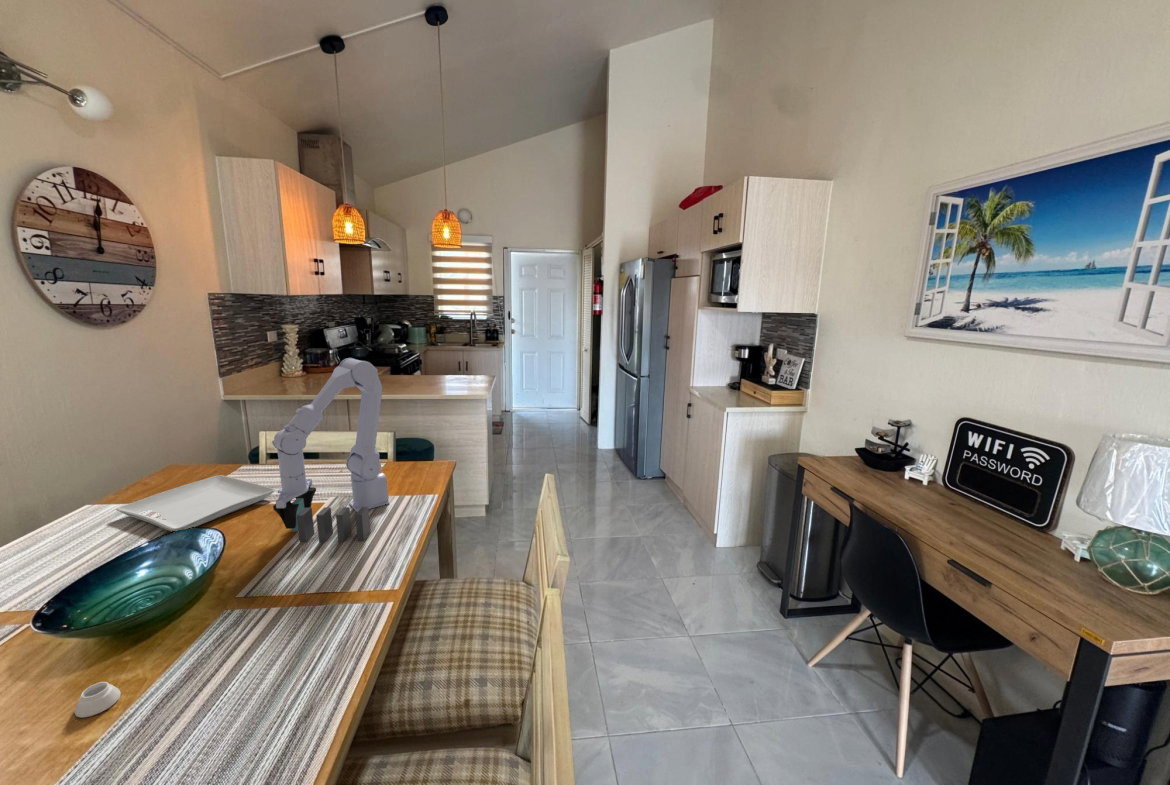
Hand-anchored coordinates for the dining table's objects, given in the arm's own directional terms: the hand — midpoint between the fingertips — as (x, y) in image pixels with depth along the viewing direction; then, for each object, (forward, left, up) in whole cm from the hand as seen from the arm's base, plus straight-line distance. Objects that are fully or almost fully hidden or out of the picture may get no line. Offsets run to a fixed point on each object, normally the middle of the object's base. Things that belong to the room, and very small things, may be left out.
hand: (298, 521), depth 129 cm
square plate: (+19, -30, -2) cm, 36 cm away
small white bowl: (+35, +44, -2) cm, 56 cm away
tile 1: (-12, +16, -2) cm, 20 cm away
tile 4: (-1, +8, -2) cm, 8 cm away
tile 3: (-4, +10, -2) cm, 11 cm away
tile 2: (-8, +13, -2) cm, 16 cm away
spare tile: (0, 0, -2) cm, 2 cm away
